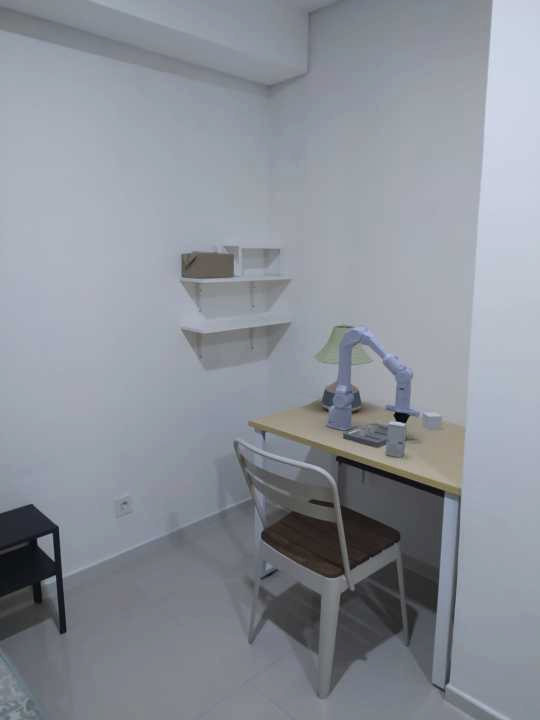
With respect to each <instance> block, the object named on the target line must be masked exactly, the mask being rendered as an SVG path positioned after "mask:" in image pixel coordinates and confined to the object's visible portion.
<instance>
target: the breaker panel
mask: <svg viewBox="0 0 540 720" xmlns="http://www.w3.org/2000/svg"><path fill="white" fill-rule="evenodd" d="M407 431H408V430H406V434H407ZM387 432H388V425H383V424H381V423H377V422H371V423H368V424H366V425H363V426H360V427H357V428H355V429H352V430H350V431H349V430H348V431H347V432H346V431H345V432H343V434H342V438H343V439H344V440H348V441H352V442H354V443H359V444H363V445H366V446H370V447H373V448H377V449H378V448H380V447H383V446H385V445H386V444H387Z"/></svg>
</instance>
